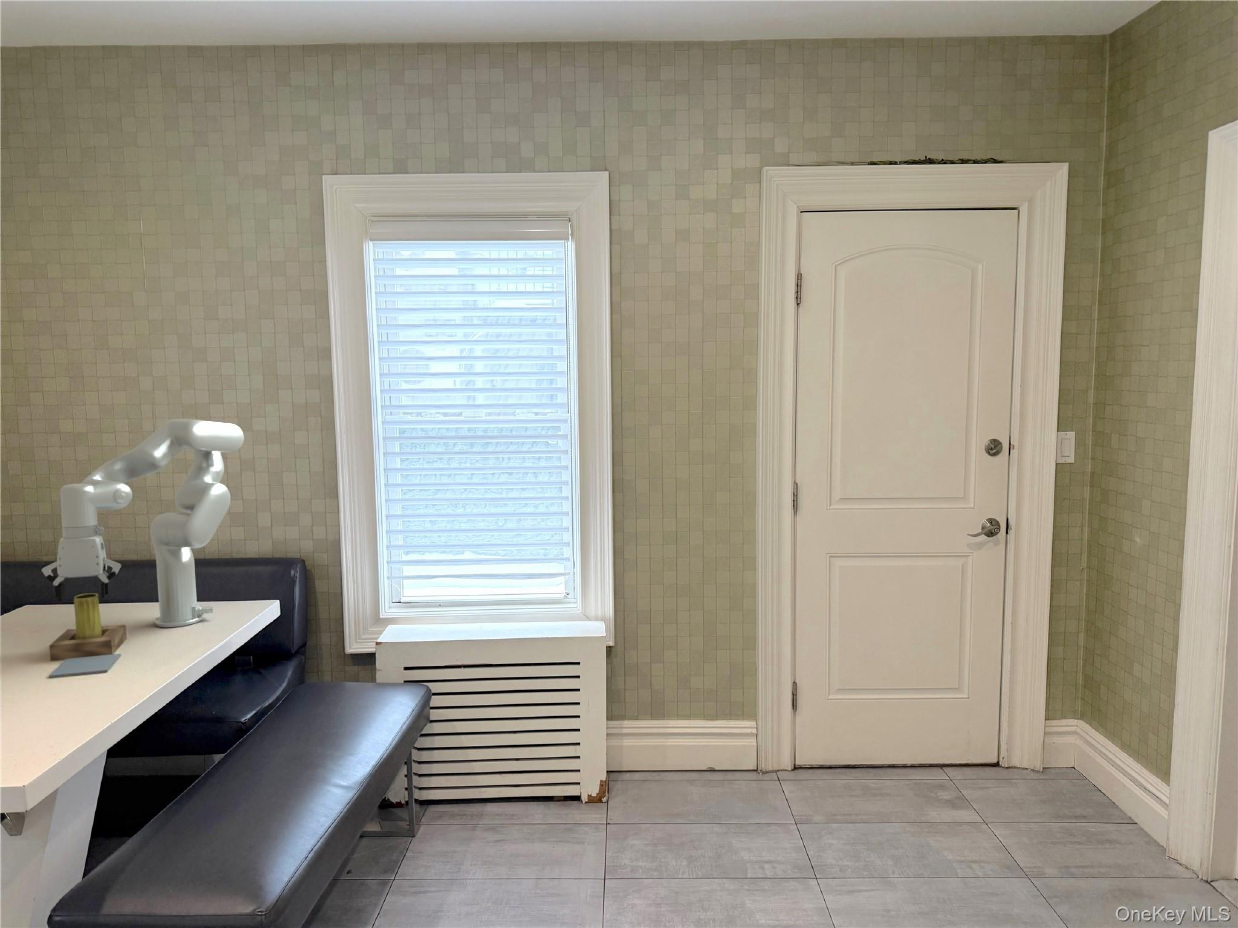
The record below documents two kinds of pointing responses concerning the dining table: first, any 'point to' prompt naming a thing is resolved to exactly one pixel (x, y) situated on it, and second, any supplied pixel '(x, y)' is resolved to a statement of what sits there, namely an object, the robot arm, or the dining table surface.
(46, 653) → the dining table surface
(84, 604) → the vase
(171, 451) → the robot arm
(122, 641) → the collar
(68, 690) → the dining table surface
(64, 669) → the mat
